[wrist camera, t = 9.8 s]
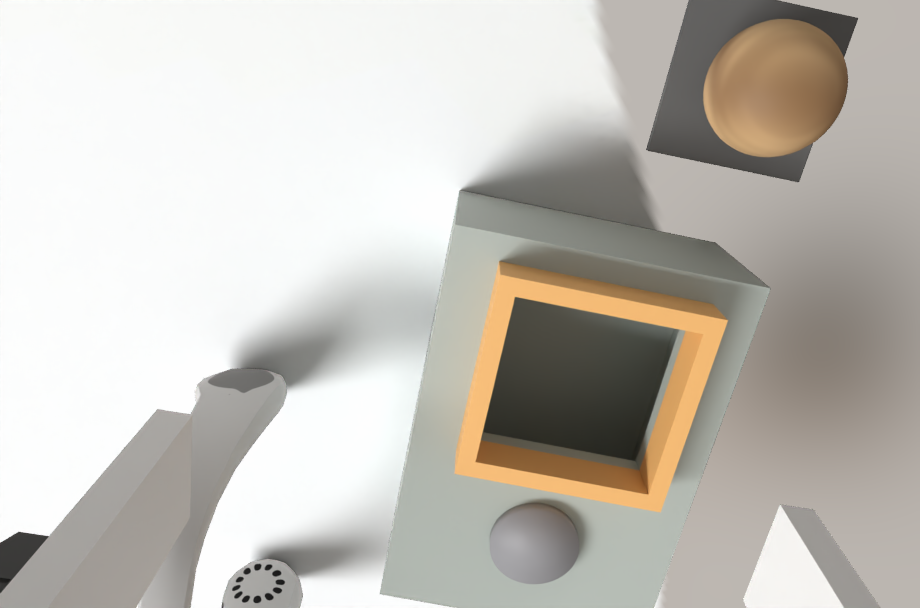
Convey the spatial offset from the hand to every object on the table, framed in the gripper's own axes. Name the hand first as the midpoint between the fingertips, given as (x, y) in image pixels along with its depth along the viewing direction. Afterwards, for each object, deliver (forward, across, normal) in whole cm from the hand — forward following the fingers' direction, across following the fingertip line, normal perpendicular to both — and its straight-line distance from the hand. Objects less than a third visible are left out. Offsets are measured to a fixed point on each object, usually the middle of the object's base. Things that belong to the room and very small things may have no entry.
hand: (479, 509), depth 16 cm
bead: (+24, +12, +9) cm, 28 cm away
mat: (+24, +12, +9) cm, 29 cm away
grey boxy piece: (+24, +5, -8) cm, 26 cm away
